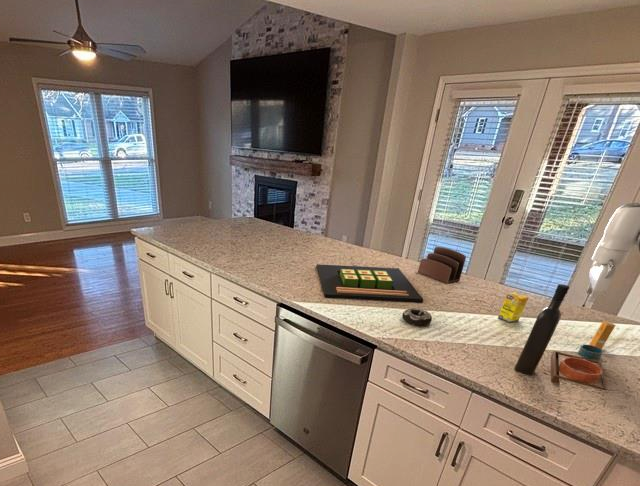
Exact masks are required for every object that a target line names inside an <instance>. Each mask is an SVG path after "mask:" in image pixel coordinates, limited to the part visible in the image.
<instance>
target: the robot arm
mask: <svg viewBox="0 0 640 486" xmlns="http://www.w3.org/2000/svg"><path fill="white" fill-rule="evenodd" d="M634 248H638V251H639V252H640V202H632V203H631V202H630V203H626V204H623V205H621V206H619V207H618V208H616V210H615V212H614V213H613V214H612V216H611V217H610V219H609V222H608V223H607V225H606V227H605V230H604V232H603V237H602V238H601V240H600V241H599V243H598V244H597V247H596V248H595V250H594V252H593V255H592V257H591V261H592V263H591V267H590V269H589V273H588V277H589V283H588V287H587V289H586V294H588V295H589V297H588V299H587V301H588V302H589V303H595V302H596V301H597V299H598V297H599V296H600V295H601V293H602V294H605V293H607V292H608V291H609V288H610V286H611V284H612V281H613V280H614V278H615V276H616V272H617V269H618V268H619V267H621V266H624V265H625V264H626V262H627V260H628V258H629V256H630V254H631V252H632V250H633V249H634Z"/></svg>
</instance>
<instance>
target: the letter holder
mask: <svg viewBox="0 0 640 486" xmlns="http://www.w3.org/2000/svg"><path fill="white" fill-rule="evenodd" d="M466 260H467V256H466V255H465V254H463V253H461V252H459V251H457V250H454V249H451V248H448V247H443V246H435V247H434V249H433V252H429V253H428V254H427V256H426V258H424V257H423V258H421V259H420V262H419V266H418V269H417V273H419V274H421V275H424V276H426V277H429V278H431V279H435V280H436V281H437V280H438V281H440V282H442V283H445V284H451V283H456V282H460V280H461V276H462V274H463V273H462V272H463V270H464V267H465V263H466Z"/></svg>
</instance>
